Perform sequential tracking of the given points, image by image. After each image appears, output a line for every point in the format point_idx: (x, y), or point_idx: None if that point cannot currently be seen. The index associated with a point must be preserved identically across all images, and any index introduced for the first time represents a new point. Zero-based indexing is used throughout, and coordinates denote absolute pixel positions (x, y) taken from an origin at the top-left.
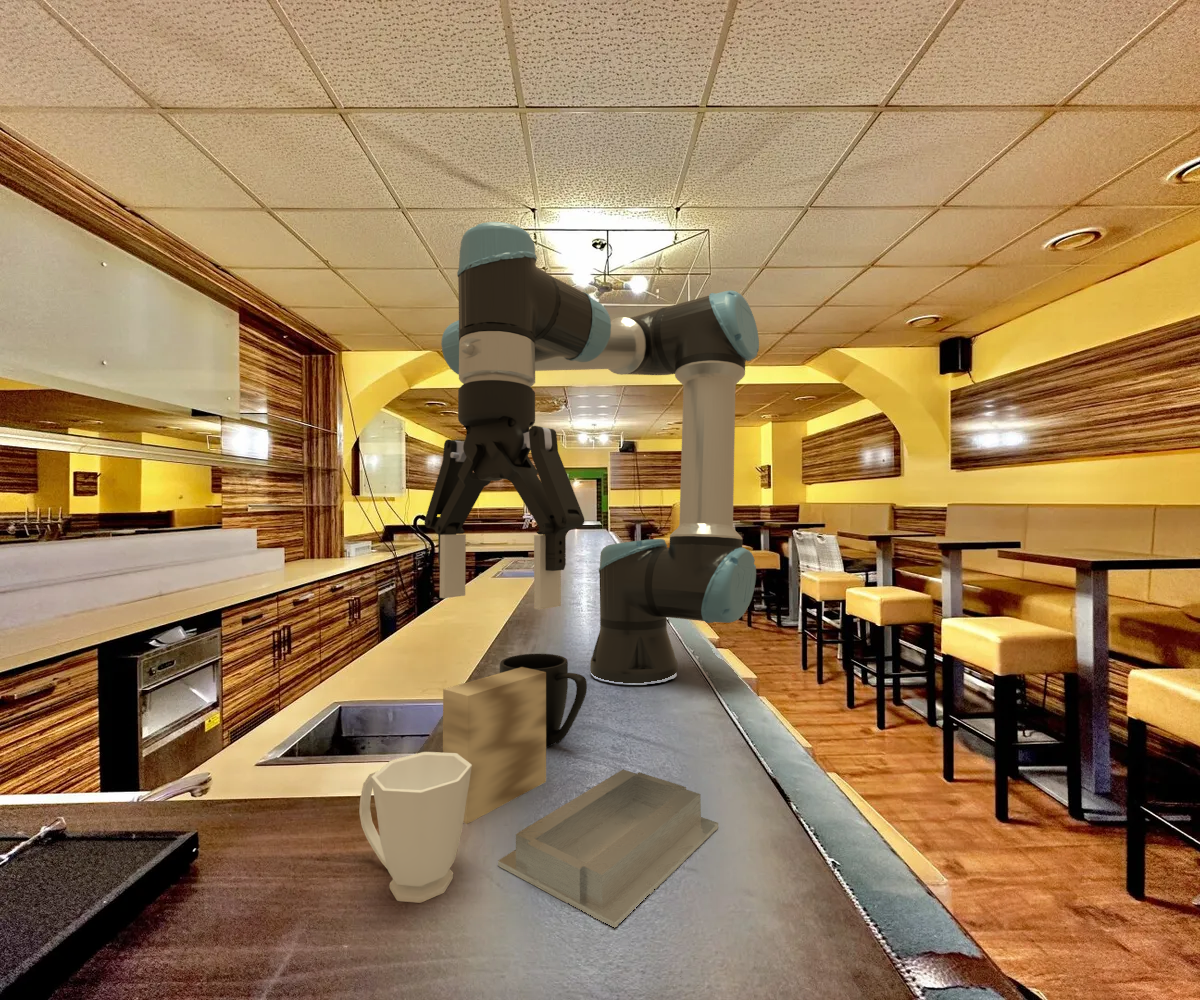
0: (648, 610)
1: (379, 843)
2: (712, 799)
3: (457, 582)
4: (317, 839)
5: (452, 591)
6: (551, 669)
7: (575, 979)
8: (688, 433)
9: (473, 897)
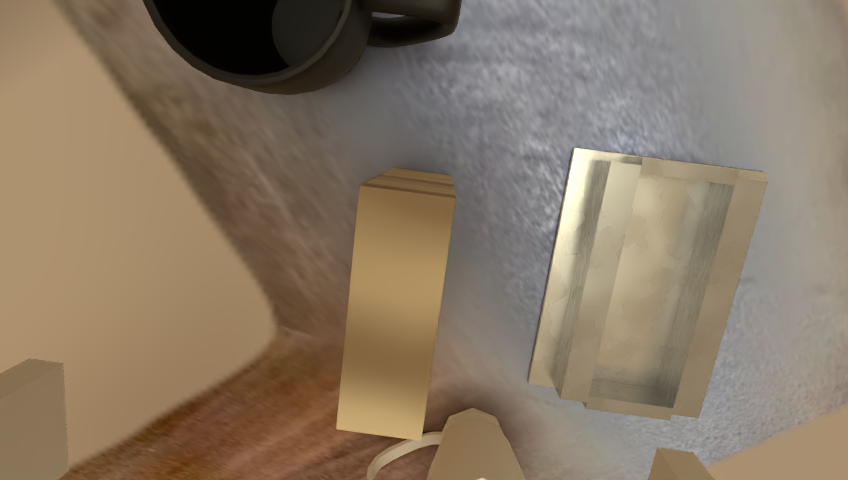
0: None
1: (401, 450)
2: (736, 89)
3: (2, 450)
4: (297, 435)
5: (43, 447)
6: (350, 15)
7: None
8: None
9: (537, 428)
